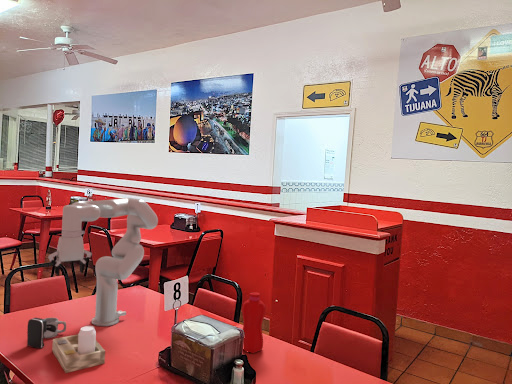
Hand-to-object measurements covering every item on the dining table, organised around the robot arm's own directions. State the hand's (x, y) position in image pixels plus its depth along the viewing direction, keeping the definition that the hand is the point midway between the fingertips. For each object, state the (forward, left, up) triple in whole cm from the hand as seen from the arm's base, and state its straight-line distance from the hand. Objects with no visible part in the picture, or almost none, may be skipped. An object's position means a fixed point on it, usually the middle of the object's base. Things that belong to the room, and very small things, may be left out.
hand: (69, 273), depth 174 cm
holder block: (+1, +20, -28) cm, 35 cm away
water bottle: (-63, +48, -28) cm, 84 cm away
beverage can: (-1, +25, -28) cm, 37 cm away
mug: (+4, -6, -29) cm, 29 cm away
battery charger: (+12, +2, -28) cm, 31 cm away
